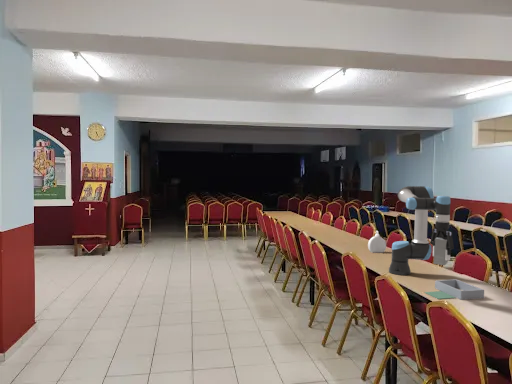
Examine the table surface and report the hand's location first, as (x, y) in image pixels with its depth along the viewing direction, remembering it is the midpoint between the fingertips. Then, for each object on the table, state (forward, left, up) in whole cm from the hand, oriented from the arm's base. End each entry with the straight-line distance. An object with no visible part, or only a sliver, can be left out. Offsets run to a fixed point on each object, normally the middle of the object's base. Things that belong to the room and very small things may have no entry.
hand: (441, 258), depth 219 cm
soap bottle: (-121, +30, -23) cm, 127 cm away
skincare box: (0, 0, -3) cm, 3 cm away
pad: (0, 0, -23) cm, 23 cm away
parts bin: (-2, +15, -23) cm, 27 cm away
